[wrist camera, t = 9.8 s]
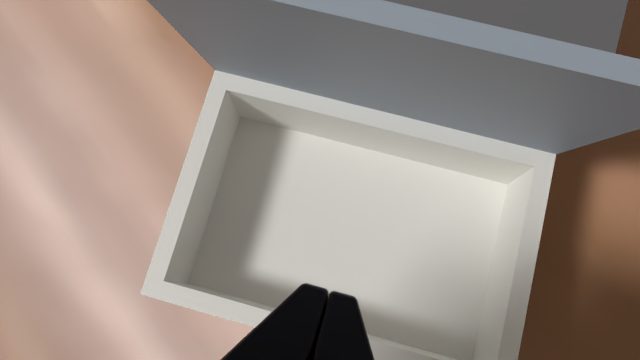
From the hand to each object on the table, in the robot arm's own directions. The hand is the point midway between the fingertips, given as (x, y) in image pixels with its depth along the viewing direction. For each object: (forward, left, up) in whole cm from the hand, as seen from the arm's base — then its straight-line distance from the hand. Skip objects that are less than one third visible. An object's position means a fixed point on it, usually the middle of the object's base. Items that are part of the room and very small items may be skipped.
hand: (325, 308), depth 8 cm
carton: (+2, +2, -12) cm, 13 cm away
